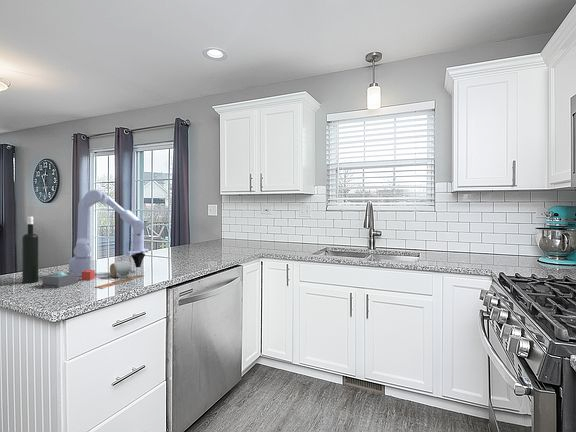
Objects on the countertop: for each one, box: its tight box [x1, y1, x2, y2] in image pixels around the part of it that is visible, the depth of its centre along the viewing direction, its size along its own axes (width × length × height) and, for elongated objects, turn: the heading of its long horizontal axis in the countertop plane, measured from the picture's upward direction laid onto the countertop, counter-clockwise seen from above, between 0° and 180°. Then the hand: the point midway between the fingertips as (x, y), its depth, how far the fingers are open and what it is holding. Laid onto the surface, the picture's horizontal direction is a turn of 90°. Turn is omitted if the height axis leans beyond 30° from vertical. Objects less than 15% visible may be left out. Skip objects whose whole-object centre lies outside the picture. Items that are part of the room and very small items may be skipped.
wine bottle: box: [21, 216, 39, 284], centre depth 148 cm, size 6×6×30 cm
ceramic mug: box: [109, 260, 132, 280], centre depth 162 cm, size 11×8×8 cm
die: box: [81, 269, 96, 281], centre depth 156 cm, size 4×4×4 cm
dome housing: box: [41, 271, 78, 289], centre depth 145 cm, size 9×9×4 cm
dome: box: [52, 270, 68, 277], centre depth 145 cm, size 6×6×4 cm
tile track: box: [94, 274, 145, 289], centre depth 153 cm, size 4×26×1 cm, turn 165°
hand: (138, 267), depth 176 cm, fingers closed
